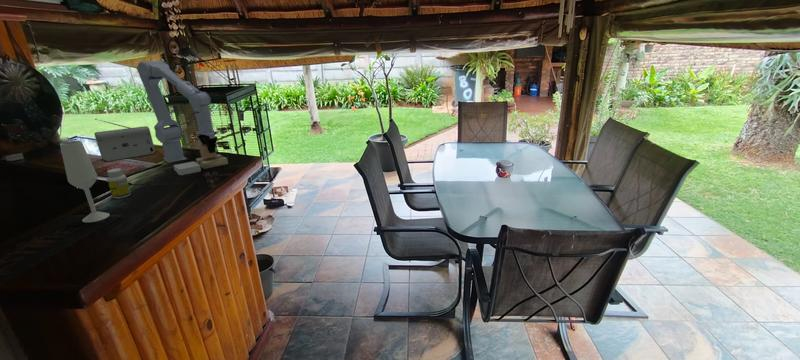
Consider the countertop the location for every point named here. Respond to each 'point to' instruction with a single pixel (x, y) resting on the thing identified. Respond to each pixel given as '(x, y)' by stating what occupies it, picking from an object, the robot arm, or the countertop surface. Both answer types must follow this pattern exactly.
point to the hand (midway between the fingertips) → (210, 151)
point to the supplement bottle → (118, 183)
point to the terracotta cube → (206, 152)
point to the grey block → (187, 168)
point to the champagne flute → (81, 174)
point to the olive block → (212, 161)
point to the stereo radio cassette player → (124, 142)
